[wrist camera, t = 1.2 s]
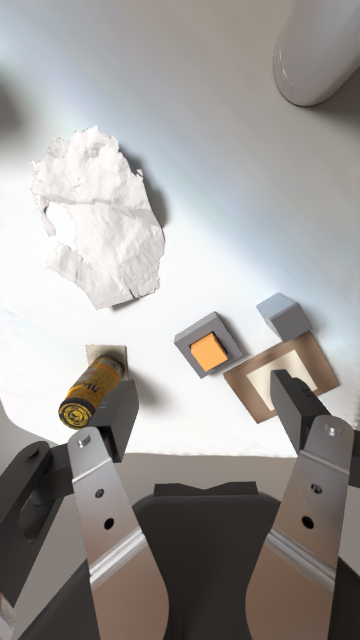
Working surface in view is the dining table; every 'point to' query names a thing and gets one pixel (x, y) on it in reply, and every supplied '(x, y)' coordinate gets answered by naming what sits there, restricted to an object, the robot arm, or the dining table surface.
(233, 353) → the button housing
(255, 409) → the drawing board
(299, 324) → the grey rectangular box
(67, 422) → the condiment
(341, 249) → the dining table surface
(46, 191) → the paper
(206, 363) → the button
